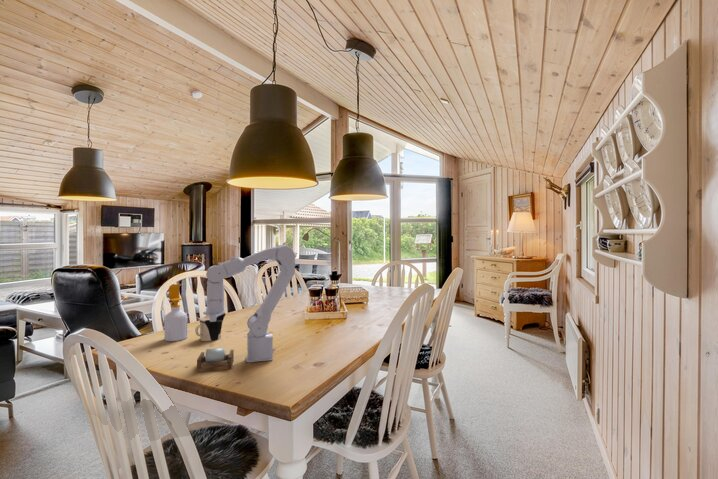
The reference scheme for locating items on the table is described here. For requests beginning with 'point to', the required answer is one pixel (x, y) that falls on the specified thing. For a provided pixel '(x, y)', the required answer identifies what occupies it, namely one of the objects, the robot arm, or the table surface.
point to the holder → (215, 363)
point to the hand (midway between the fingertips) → (215, 336)
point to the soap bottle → (175, 318)
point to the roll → (215, 355)
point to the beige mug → (204, 330)
